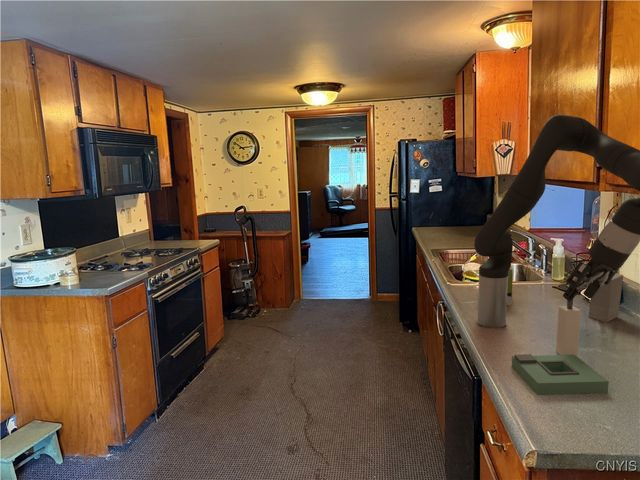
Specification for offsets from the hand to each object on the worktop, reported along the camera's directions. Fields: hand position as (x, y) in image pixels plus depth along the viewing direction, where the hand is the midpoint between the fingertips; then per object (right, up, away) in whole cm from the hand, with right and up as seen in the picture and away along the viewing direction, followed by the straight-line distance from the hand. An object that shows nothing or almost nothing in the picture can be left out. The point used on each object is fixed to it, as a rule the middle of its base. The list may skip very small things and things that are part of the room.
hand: (576, 297), depth 111 cm
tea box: (+8, -10, +70) cm, 71 cm away
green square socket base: (-2, -22, +5) cm, 22 cm away
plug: (+8, -19, +19) cm, 28 cm away
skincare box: (+36, -13, +46) cm, 60 cm away
